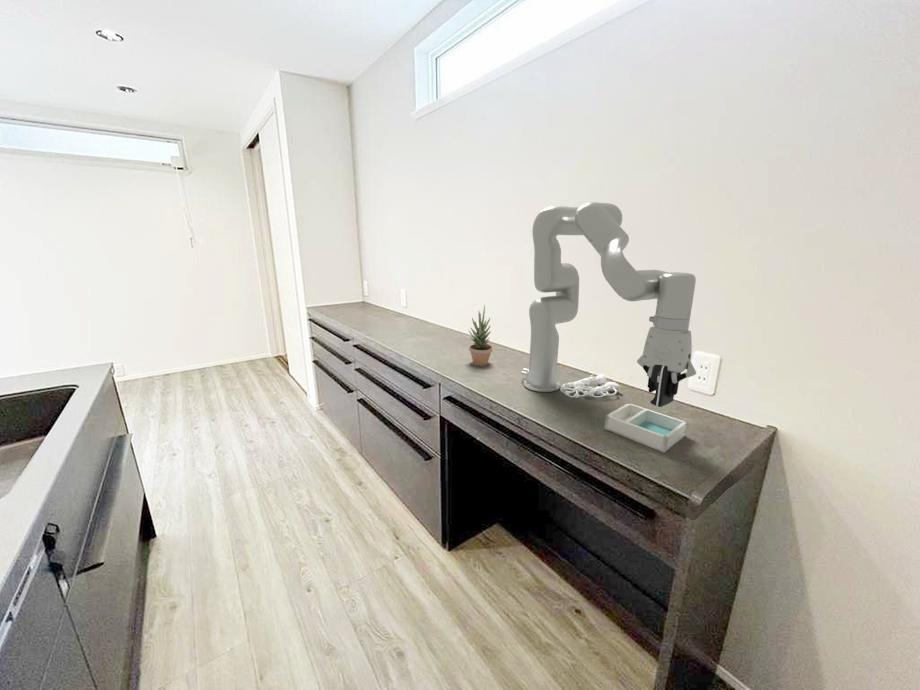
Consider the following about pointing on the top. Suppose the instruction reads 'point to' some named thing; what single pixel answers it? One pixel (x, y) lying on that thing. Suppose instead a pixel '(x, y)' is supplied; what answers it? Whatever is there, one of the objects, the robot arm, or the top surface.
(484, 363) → the potted plant
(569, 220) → the robot arm
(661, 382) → the battery charger
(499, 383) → the top surface
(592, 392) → the tangled rod sculpture
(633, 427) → the divided compartment box
